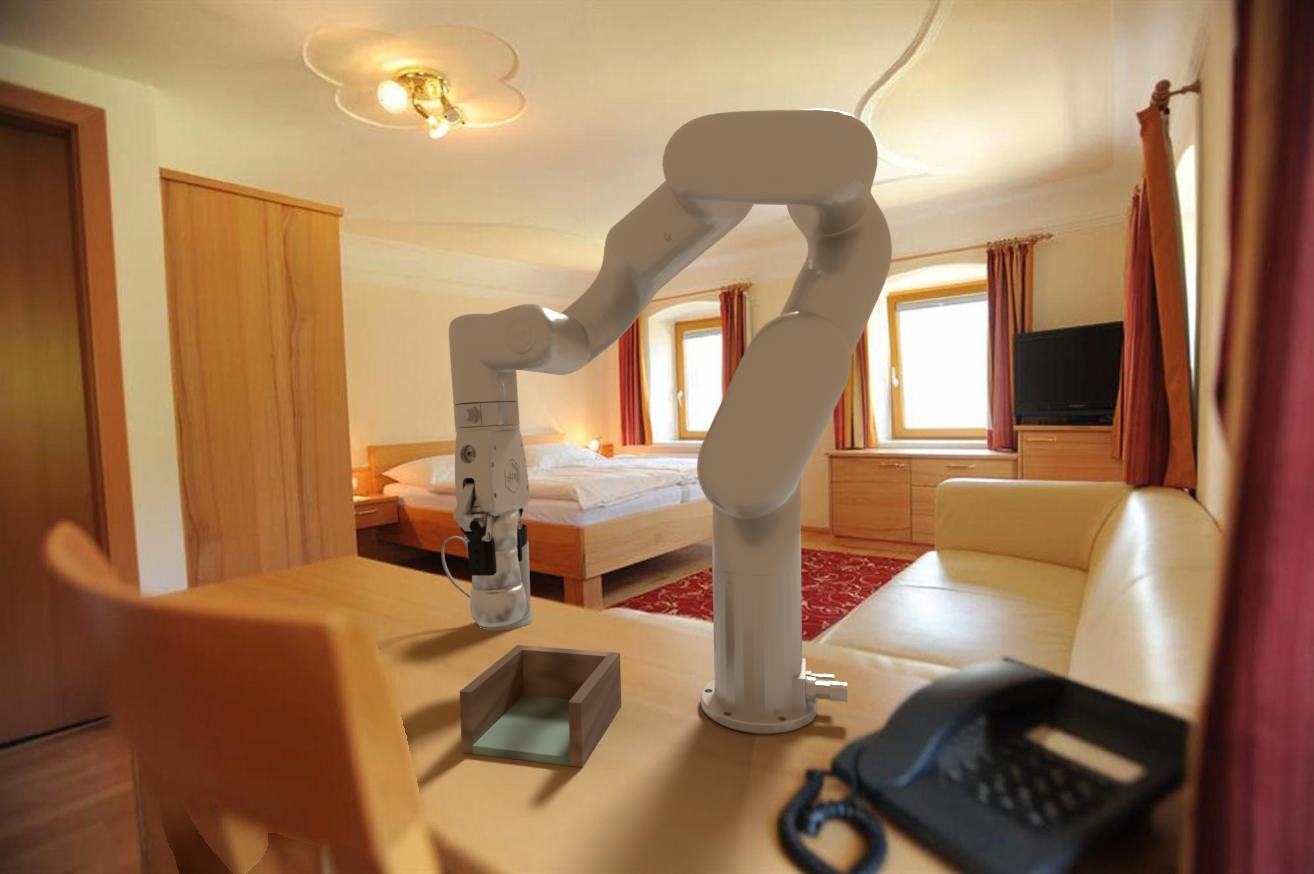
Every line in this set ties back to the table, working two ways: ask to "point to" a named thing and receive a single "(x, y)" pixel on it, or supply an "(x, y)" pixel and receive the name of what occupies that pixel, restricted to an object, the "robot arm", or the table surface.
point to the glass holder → (524, 579)
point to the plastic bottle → (500, 576)
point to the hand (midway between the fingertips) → (497, 566)
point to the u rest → (541, 705)
